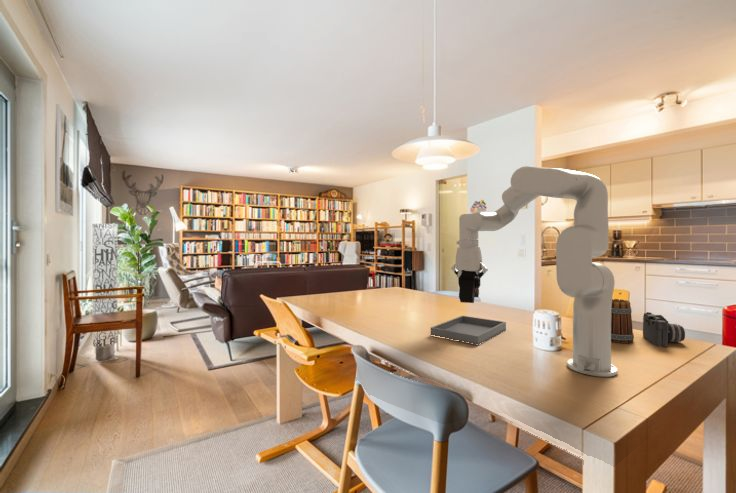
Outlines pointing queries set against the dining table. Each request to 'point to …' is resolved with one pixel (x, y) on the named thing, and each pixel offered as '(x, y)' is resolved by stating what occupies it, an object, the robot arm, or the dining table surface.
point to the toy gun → (468, 287)
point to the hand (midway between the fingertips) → (469, 286)
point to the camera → (661, 330)
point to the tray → (469, 329)
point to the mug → (621, 322)
